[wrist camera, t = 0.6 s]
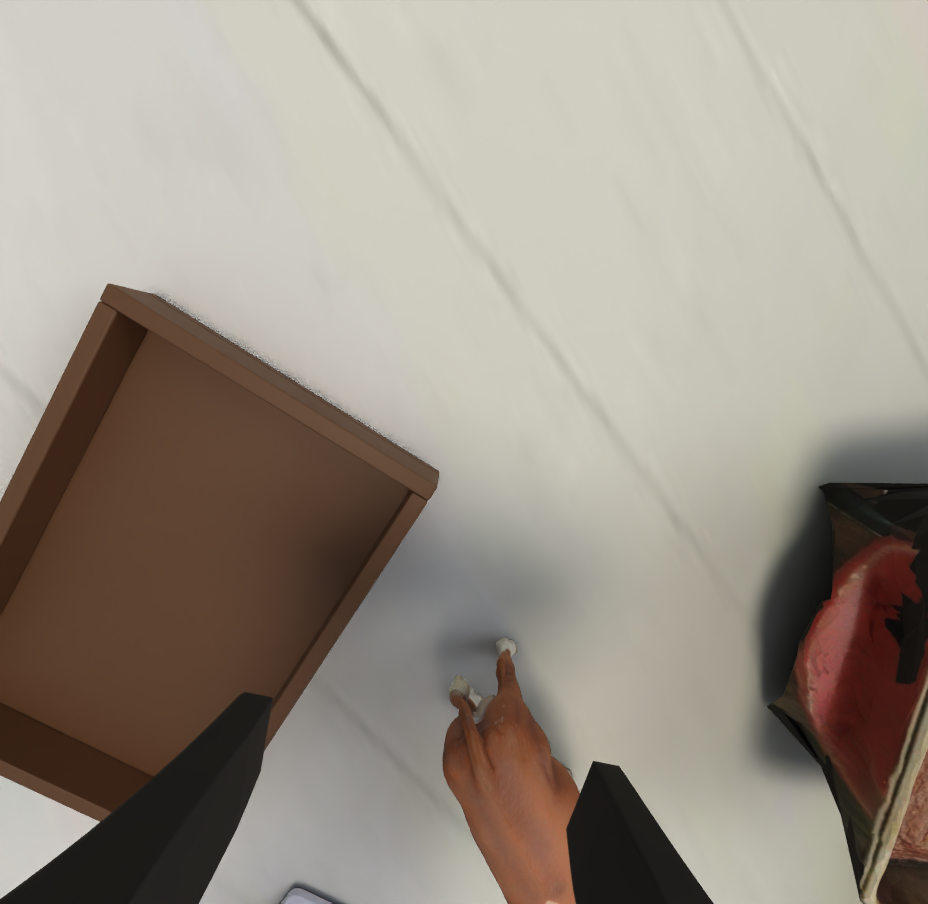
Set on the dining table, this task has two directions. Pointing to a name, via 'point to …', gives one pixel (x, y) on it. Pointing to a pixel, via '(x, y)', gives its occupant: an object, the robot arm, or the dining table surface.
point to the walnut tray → (178, 549)
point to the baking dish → (872, 685)
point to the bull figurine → (511, 788)
